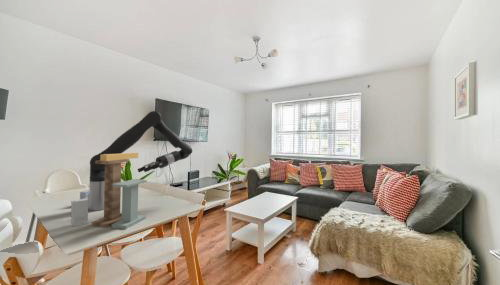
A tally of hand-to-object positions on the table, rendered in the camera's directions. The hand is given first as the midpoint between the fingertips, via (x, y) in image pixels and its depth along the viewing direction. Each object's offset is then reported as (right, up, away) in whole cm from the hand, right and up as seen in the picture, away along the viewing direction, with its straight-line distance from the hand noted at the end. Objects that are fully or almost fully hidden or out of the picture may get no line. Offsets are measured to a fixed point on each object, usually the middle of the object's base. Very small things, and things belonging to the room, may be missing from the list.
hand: (141, 170), depth 122 cm
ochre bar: (-6, +8, -10) cm, 14 cm away
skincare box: (-20, -24, -20) cm, 37 cm away
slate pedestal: (+3, -25, -17) cm, 30 cm away
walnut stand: (-7, -24, -15) cm, 29 cm away
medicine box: (-41, -24, +12) cm, 49 cm away
